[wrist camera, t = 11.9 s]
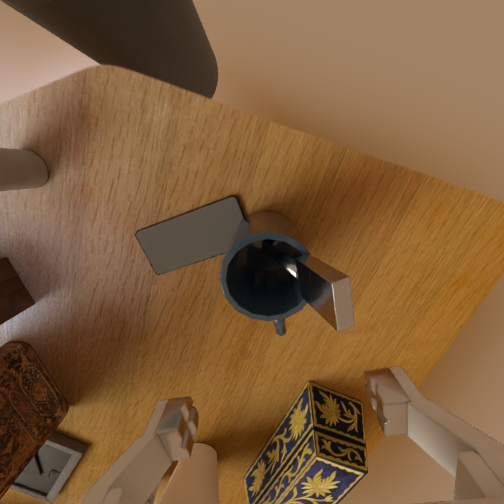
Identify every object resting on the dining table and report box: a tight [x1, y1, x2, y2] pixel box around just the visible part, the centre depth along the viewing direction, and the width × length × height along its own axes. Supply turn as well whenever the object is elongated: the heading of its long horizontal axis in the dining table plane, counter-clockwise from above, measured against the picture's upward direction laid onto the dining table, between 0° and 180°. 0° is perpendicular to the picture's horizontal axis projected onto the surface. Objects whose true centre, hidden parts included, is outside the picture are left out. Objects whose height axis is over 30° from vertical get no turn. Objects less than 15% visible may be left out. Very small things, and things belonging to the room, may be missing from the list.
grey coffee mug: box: [220, 211, 311, 336], centre depth 28 cm, size 13×9×11 cm
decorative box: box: [243, 381, 368, 504], centre depth 42 cm, size 11×30×9 cm, turn 157°
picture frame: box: [10, 431, 88, 503], centre depth 49 cm, size 16×2×21 cm
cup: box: [158, 443, 219, 504], centre depth 41 cm, size 12×12×14 cm
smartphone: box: [135, 196, 245, 274], centre depth 32 cm, size 7×1×15 cm
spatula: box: [262, 242, 354, 332], centre depth 24 cm, size 4×1×17 cm, turn 13°
